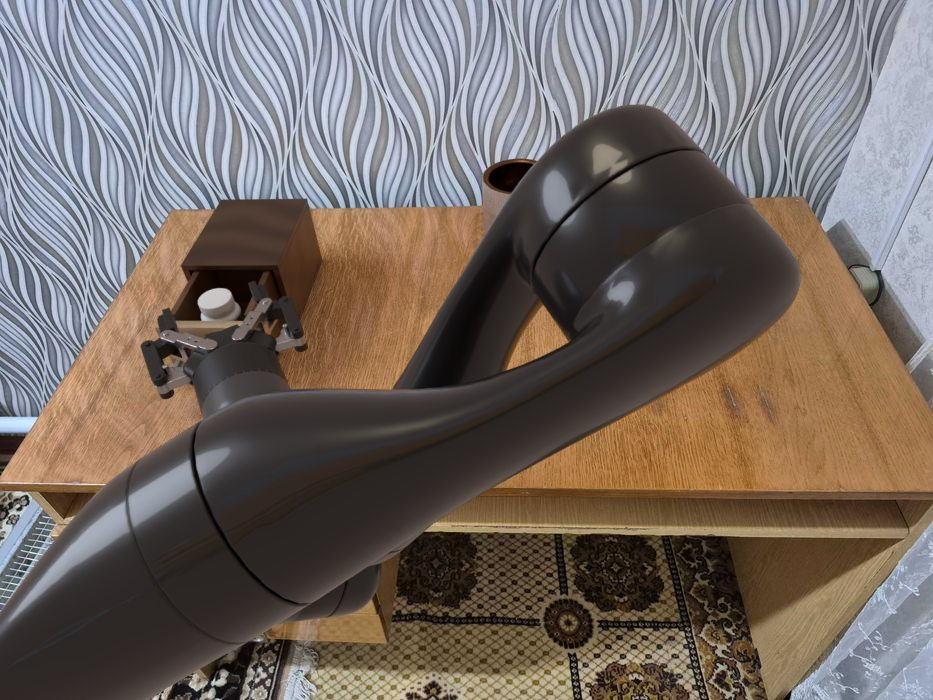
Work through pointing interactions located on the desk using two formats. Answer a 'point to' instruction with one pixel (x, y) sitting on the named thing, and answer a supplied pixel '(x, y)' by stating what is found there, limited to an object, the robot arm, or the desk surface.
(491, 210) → the planter
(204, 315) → the pill bottle
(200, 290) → the drawer
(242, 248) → the cabinet
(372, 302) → the desk surface
